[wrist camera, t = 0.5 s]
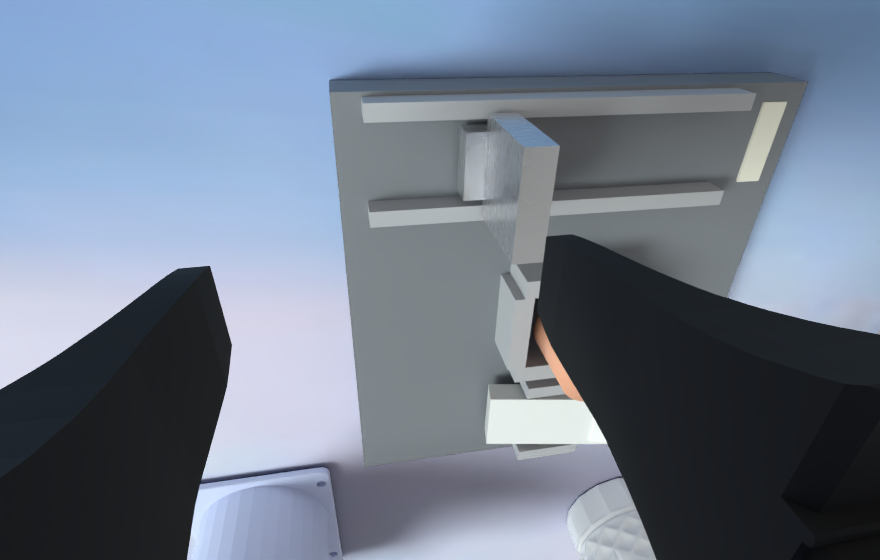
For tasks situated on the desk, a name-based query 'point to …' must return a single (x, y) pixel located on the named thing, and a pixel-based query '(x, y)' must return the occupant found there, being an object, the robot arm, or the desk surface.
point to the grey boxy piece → (510, 181)
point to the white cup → (608, 525)
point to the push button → (554, 362)
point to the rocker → (537, 419)
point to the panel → (572, 212)
